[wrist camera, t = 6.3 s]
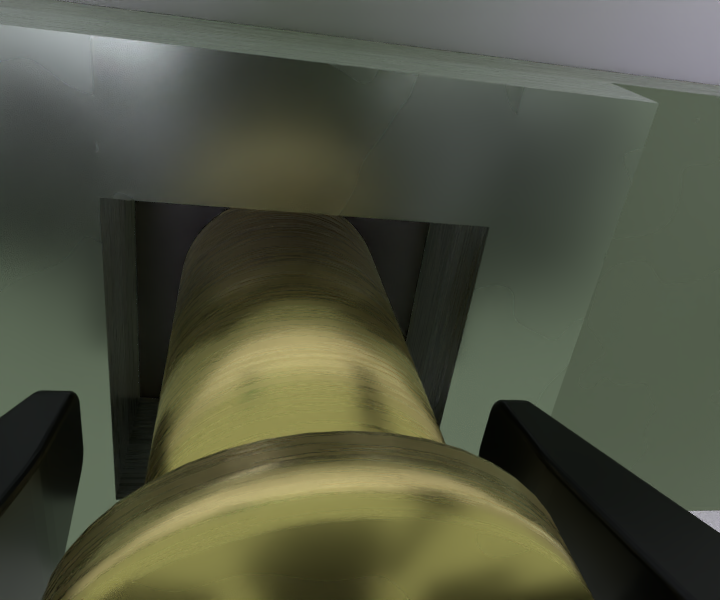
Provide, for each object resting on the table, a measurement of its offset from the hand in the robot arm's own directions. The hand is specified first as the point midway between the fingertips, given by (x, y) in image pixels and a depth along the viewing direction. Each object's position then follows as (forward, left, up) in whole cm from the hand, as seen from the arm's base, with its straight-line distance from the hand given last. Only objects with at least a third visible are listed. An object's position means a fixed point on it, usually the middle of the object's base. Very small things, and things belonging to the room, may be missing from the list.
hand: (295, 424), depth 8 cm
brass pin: (0, 0, -4) cm, 4 cm away
